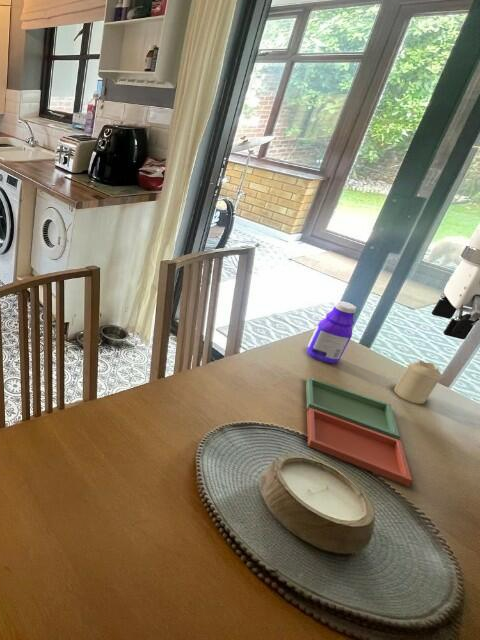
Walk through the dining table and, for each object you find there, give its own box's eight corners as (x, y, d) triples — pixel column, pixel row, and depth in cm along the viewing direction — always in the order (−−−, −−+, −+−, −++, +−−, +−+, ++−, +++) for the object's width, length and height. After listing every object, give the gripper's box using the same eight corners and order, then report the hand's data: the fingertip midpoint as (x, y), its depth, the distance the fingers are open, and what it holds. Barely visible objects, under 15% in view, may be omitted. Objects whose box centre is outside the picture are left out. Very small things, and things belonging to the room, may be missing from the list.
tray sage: (386, 410, 97) (390, 404, 97) (395, 443, 89) (399, 436, 88) (305, 382, 106) (308, 376, 105) (306, 410, 97) (309, 403, 96)
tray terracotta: (396, 447, 88) (401, 440, 87) (407, 487, 79) (412, 480, 78) (306, 413, 96) (309, 407, 95) (307, 447, 88) (311, 440, 87)
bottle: (336, 356, 116) (361, 304, 108) (339, 367, 111) (366, 313, 104) (304, 347, 119) (327, 296, 112) (306, 358, 115) (330, 305, 107)
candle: (388, 391, 103) (406, 359, 99) (402, 386, 105) (421, 355, 101) (415, 406, 99) (435, 374, 94) (429, 402, 100) (450, 369, 96)
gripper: (535, 278, 76) (485, 352, 84) (500, 248, 89) (458, 314, 96) (477, 267, 80) (433, 338, 87) (450, 240, 93) (414, 304, 100)
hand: (446, 326), depth 92 cm, fingers open, 9 cm apart
